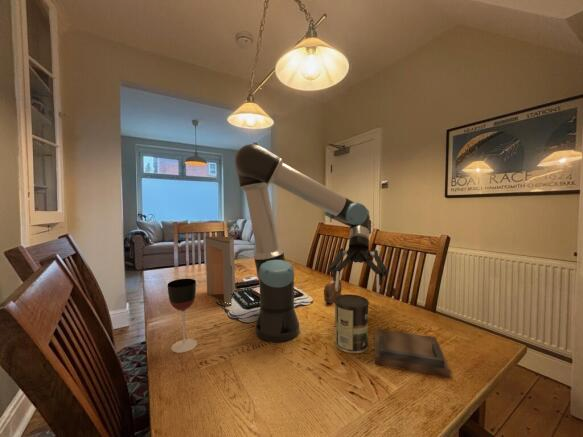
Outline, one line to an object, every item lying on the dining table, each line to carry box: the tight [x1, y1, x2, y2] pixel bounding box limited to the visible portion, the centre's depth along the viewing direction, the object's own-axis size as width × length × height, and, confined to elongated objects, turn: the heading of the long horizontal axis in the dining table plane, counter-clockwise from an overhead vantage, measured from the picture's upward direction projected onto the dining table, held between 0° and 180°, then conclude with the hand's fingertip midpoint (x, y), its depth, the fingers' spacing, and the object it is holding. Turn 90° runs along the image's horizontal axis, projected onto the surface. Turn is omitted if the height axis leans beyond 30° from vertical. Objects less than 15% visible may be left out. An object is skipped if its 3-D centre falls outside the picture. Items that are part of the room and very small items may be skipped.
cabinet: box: [204, 236, 236, 308], centre depth 119 cm, size 21×10×28 cm, turn 42°
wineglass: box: [167, 278, 198, 354], centre depth 79 cm, size 8×9×20 cm
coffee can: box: [334, 293, 370, 354], centre depth 79 cm, size 10×10×14 cm
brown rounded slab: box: [323, 279, 342, 305], centre depth 115 cm, size 15×3×8 cm, turn 148°
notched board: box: [374, 328, 451, 378], centre depth 75 cm, size 18×16×4 cm
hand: (356, 291), depth 87 cm, fingers open, 13 cm apart
